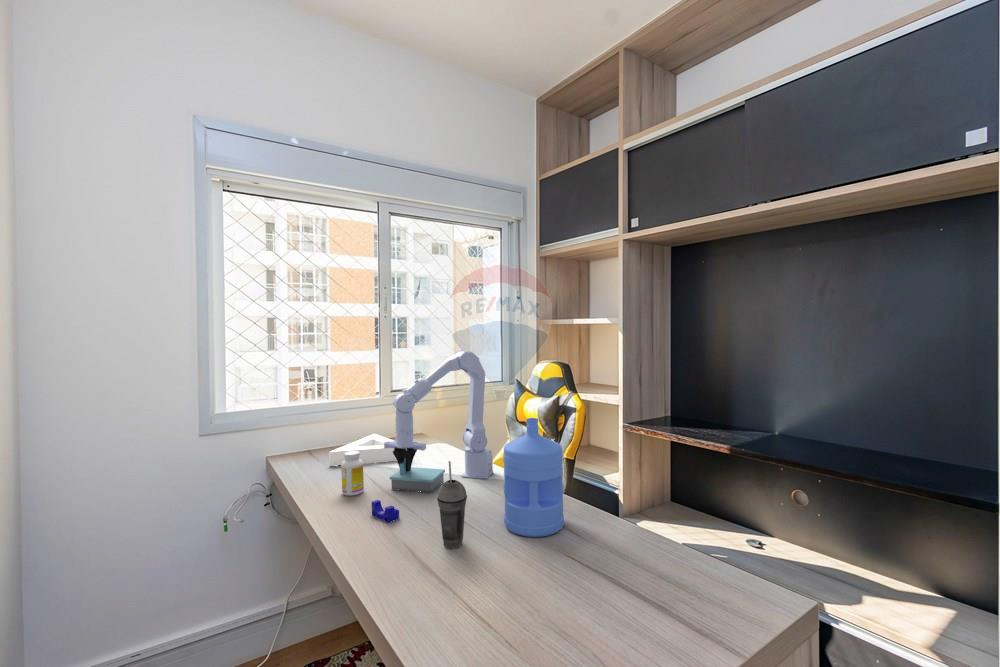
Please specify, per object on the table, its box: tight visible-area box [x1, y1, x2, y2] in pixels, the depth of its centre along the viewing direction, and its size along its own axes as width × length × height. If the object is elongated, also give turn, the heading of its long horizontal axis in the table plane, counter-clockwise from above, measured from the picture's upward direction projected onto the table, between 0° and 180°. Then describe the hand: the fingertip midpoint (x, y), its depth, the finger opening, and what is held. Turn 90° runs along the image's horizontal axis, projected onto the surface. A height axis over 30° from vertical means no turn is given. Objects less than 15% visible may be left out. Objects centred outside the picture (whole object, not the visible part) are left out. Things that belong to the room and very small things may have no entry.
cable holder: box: [371, 499, 400, 524], centre depth 127 cm, size 8×4×4 cm, turn 49°
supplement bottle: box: [340, 451, 365, 497], centre depth 146 cm, size 7×7×13 cm
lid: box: [389, 461, 446, 483], centre depth 151 cm, size 15×11×5 cm
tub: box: [390, 473, 445, 494], centre depth 151 cm, size 14×10×4 cm
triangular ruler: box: [328, 433, 407, 466], centre depth 190 cm, size 30×26×6 cm
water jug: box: [502, 417, 565, 538], centre depth 120 cm, size 16×16×28 cm
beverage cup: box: [436, 460, 468, 549], centre depth 110 cm, size 7×7×20 cm
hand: (405, 470), depth 152 cm, fingers closed on lid
